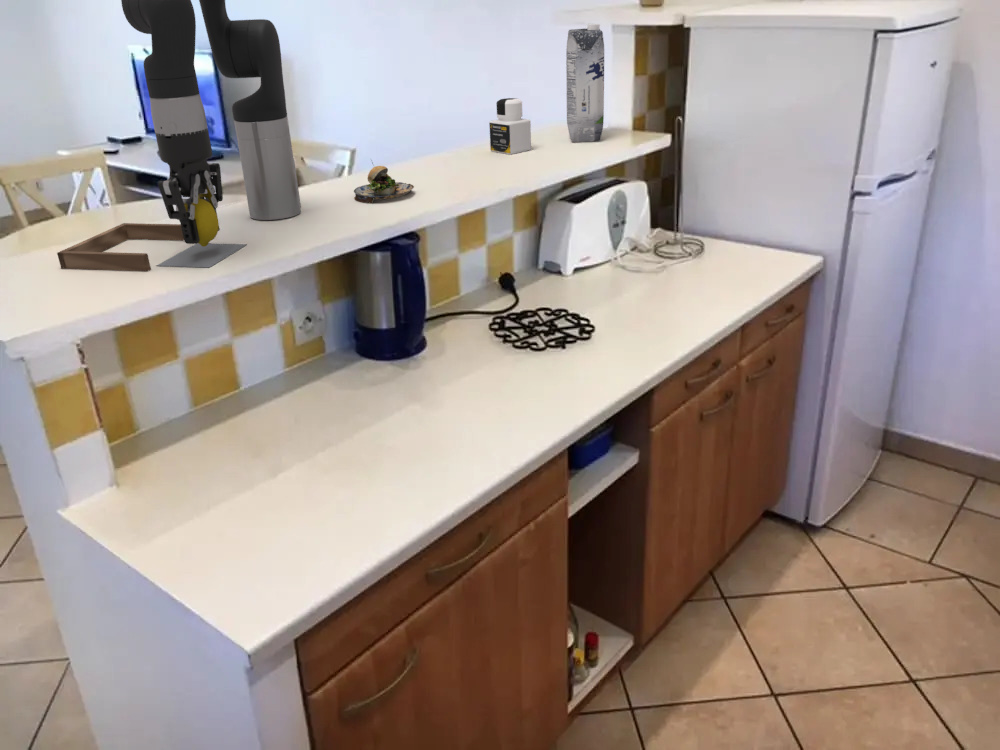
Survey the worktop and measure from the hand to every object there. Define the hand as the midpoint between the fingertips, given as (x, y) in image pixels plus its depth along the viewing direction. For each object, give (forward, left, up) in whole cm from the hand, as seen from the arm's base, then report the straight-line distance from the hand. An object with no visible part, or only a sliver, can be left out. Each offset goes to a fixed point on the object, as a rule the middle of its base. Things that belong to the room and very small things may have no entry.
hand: (202, 237), depth 133 cm
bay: (0, -12, -3) cm, 13 cm away
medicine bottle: (-86, +32, -3) cm, 92 cm away
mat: (0, 0, -3) cm, 3 cm away
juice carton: (-101, +48, -3) cm, 112 cm away
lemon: (0, 0, -2) cm, 2 cm away
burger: (-40, +16, -3) cm, 43 cm away
